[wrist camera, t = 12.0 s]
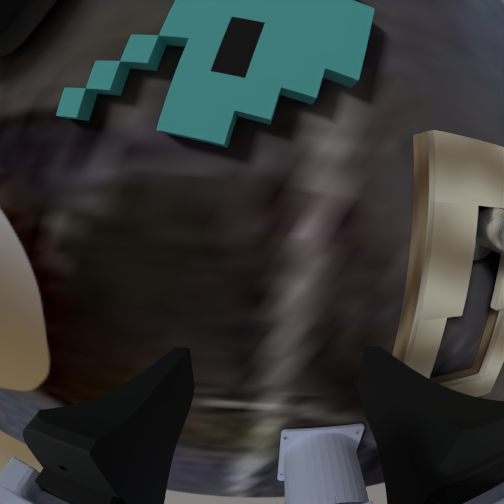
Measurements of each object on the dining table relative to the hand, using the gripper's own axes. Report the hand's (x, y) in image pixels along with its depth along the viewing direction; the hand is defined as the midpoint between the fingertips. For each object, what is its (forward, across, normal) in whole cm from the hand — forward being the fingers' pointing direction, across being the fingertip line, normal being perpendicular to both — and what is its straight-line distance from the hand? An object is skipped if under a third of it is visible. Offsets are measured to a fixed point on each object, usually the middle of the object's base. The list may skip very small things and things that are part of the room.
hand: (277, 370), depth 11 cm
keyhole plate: (+9, -16, 0) cm, 19 cm away
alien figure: (+10, +3, -20) cm, 23 cm away
